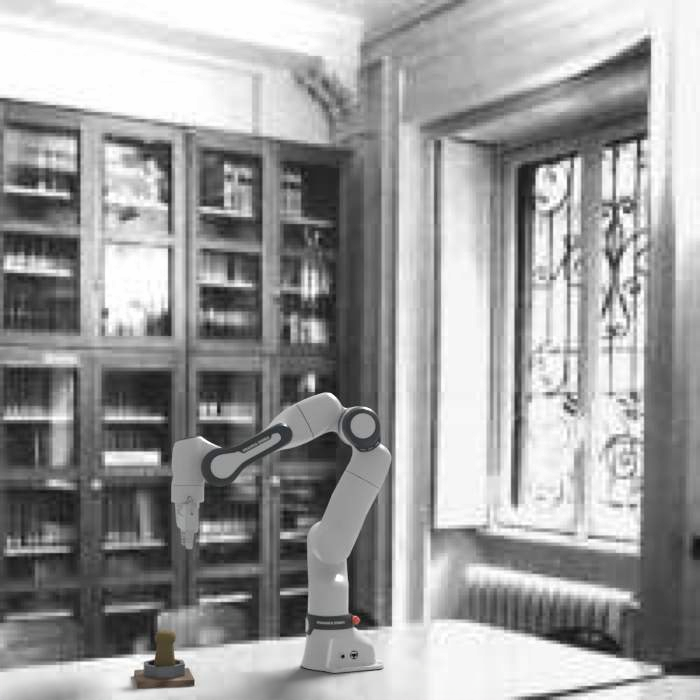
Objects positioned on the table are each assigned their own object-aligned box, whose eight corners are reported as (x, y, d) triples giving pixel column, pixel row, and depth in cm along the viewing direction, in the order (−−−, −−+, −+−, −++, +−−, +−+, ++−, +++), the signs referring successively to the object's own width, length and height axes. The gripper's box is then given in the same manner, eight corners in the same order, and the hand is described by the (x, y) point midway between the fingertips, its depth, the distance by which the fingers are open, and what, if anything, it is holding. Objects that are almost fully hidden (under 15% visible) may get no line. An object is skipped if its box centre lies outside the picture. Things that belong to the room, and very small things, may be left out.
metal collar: (181, 669, 284) (182, 658, 284) (185, 678, 274) (186, 666, 274) (142, 671, 281) (142, 659, 281) (145, 679, 271) (145, 667, 272)
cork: (171, 678, 274) (172, 633, 275) (148, 676, 275) (149, 632, 276) (179, 672, 280) (181, 629, 281) (157, 671, 281) (158, 628, 282)
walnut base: (188, 673, 286) (188, 667, 286) (194, 685, 272) (194, 679, 272) (134, 675, 282) (134, 669, 283) (137, 688, 269) (137, 682, 269)
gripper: (204, 497, 288) (203, 550, 287) (194, 493, 307) (194, 543, 306) (180, 498, 286) (179, 551, 285) (172, 493, 306) (171, 543, 305)
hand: (187, 547), depth 296 cm, fingers open, 8 cm apart
